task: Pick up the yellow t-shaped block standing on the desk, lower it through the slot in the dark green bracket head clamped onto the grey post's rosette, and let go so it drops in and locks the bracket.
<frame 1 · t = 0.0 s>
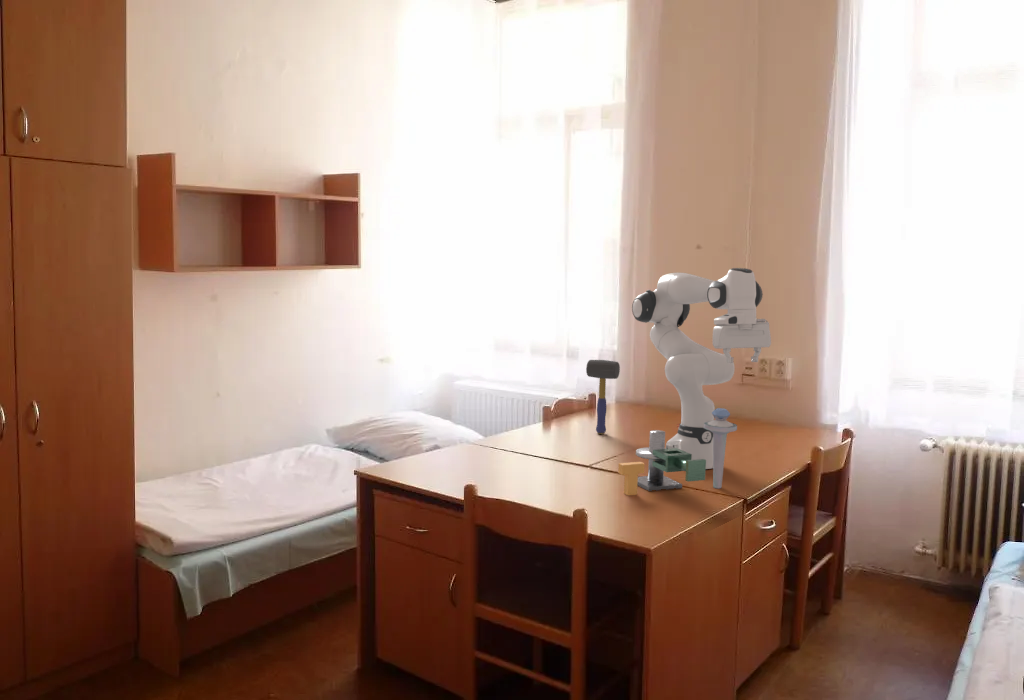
hand: (742, 362, 275), 39 cm above the table, tool pointing down, fingers open, 8 cm apart
novelty light stick: (717, 488, 272), on the table
rubber mallet: (600, 434, 348), on the table
bracket post: (655, 484, 274), on the table
yellow t-shaped block: (630, 494, 263), on the table
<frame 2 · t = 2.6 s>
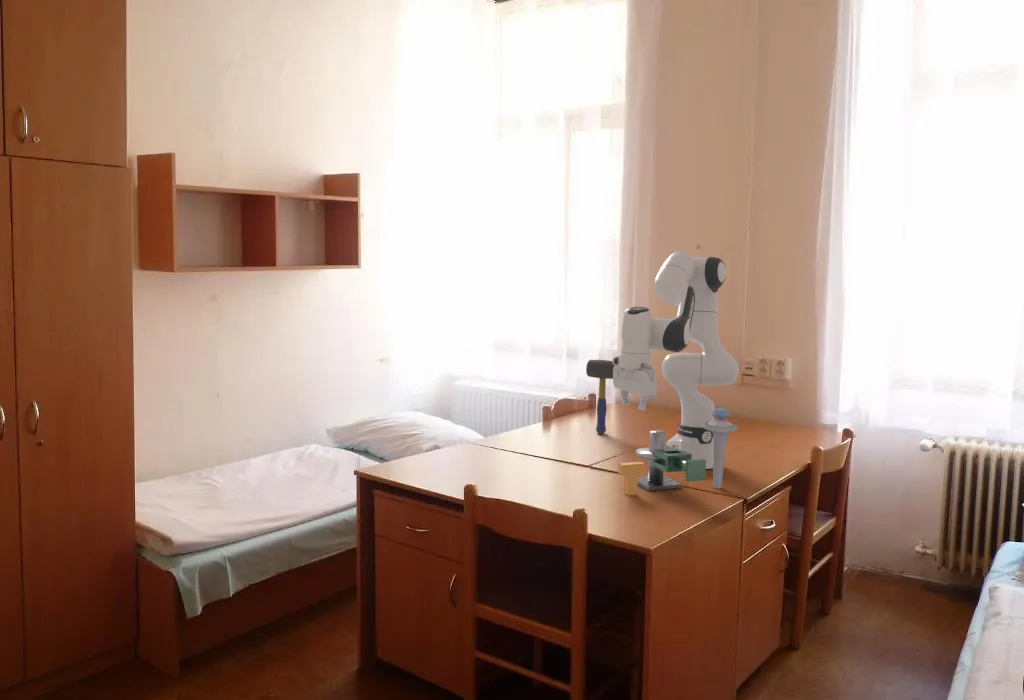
hand: (633, 407, 260), 27 cm above the table, tool pointing down, fingers open, 8 cm apart
nothing on the table moved.
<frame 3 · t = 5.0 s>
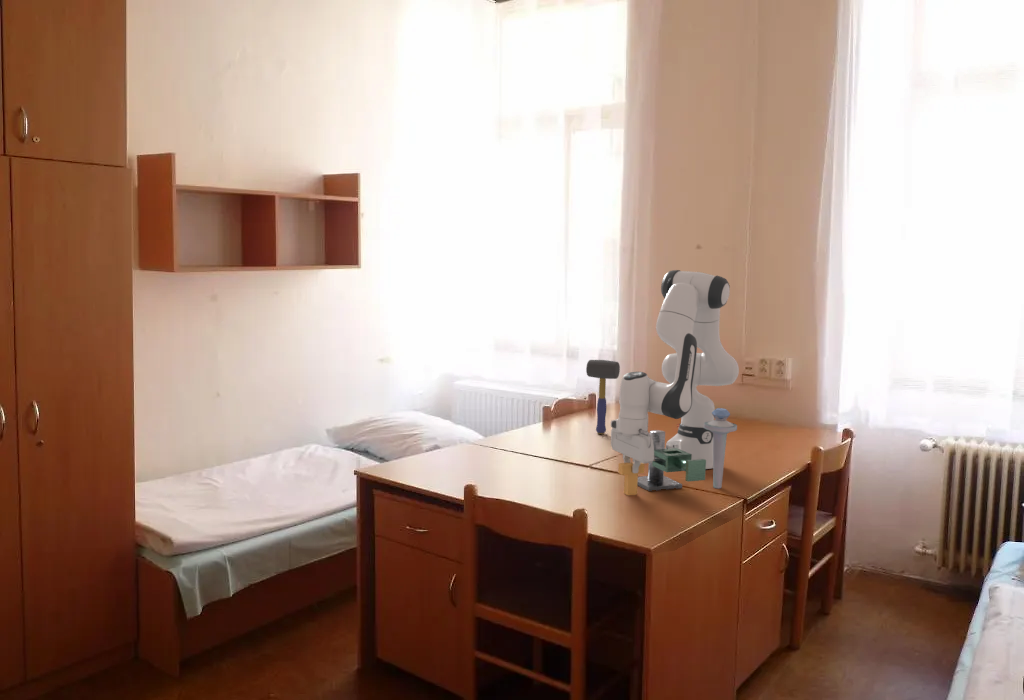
hand: (631, 471, 262), 7 cm above the table, tool pointing down, fingers closed on yellow t-shaped block, 2 cm apart
yellow t-shaped block: (630, 494, 263), on the table, touching gripper
everything else where it was.
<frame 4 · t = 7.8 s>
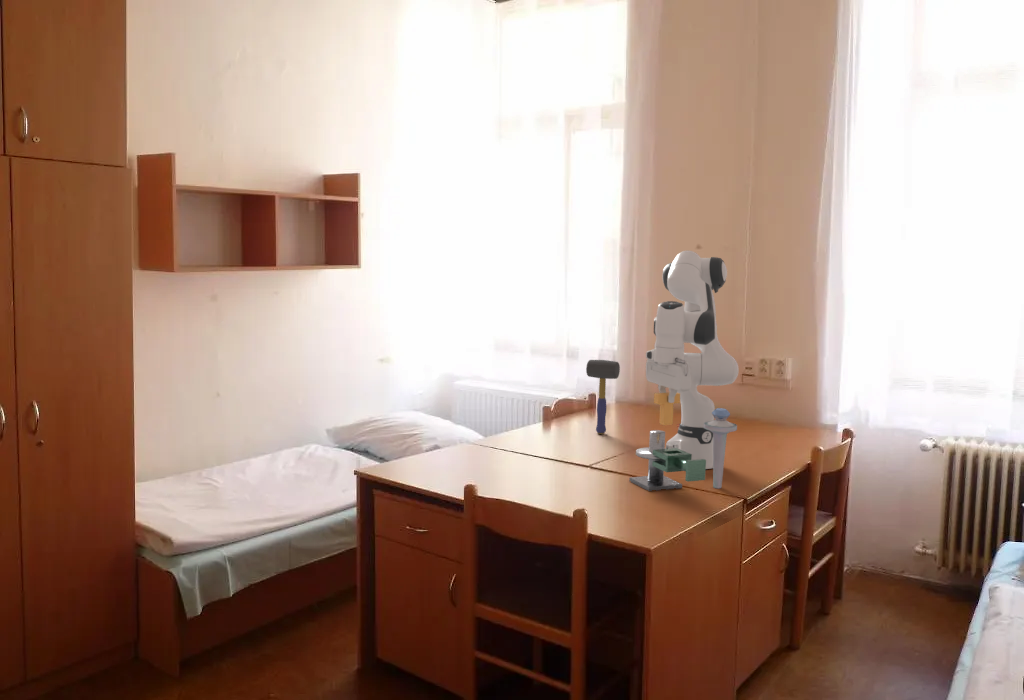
hand: (667, 401, 262), 28 cm above the table, tool pointing down, fingers closed on yellow t-shaped block, 2 cm apart
yellow t-shaped block: (665, 424, 263), point 21 cm above the table, touching gripper
everything else where it was.
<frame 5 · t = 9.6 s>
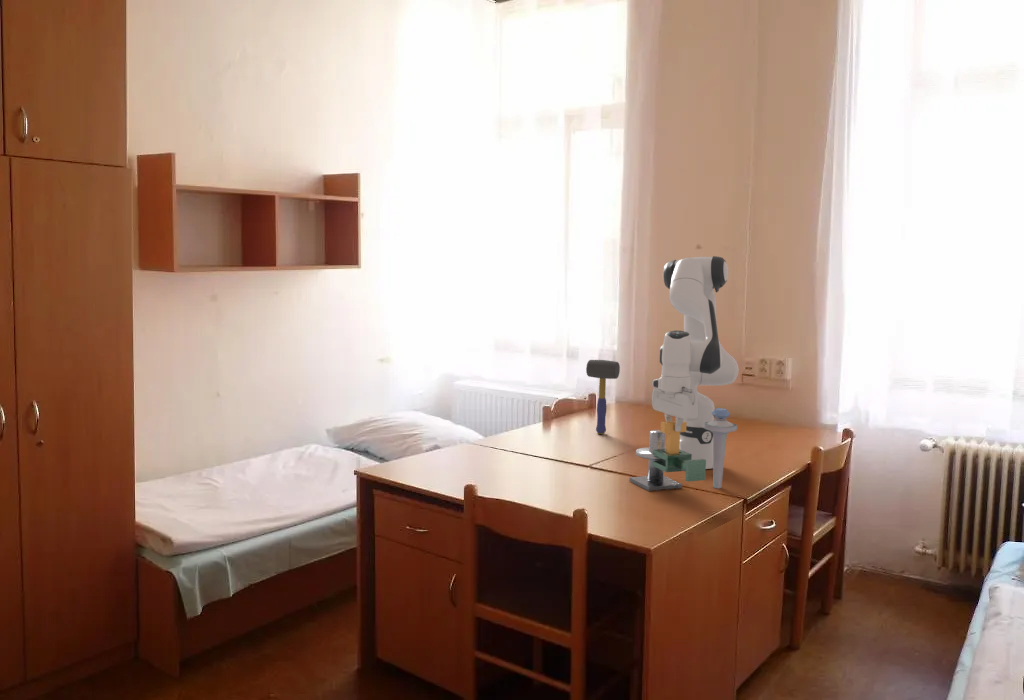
hand: (673, 429, 263), 19 cm above the table, tool pointing down, fingers closed on yellow t-shaped block, 2 cm apart
yellow t-shaped block: (672, 452, 264), point 12 cm above the table, touching gripper
everything else where it was.
when the fingers open (15 cm above the table, at t = 10.8 s): yellow t-shaped block drops 1 cm, resting on bracket post.
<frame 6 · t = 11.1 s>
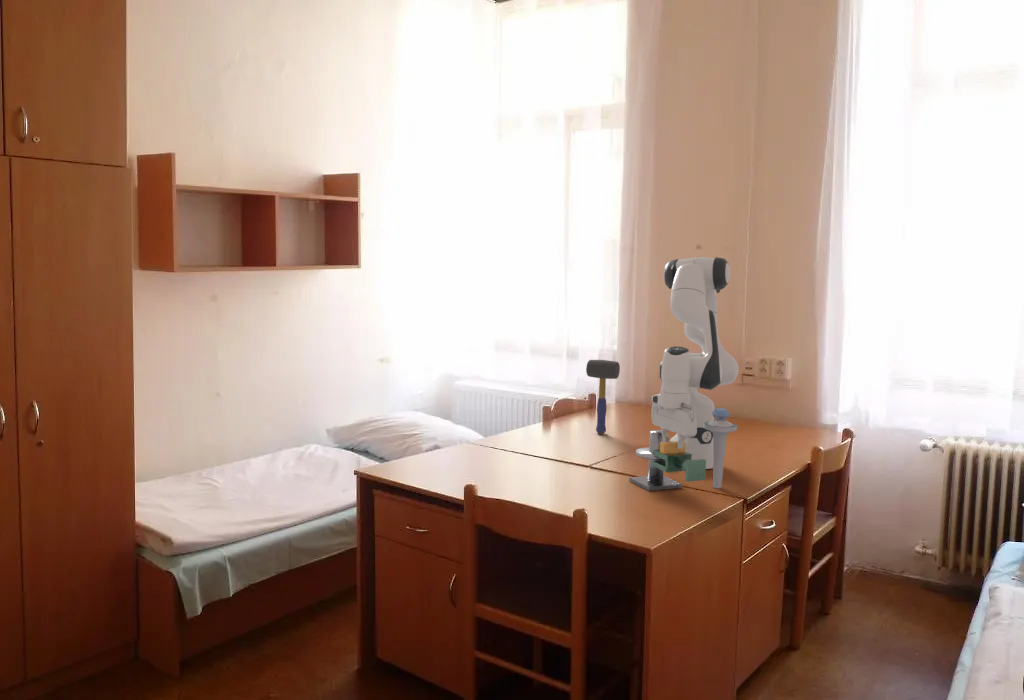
hand: (672, 445, 264), 15 cm above the table, tool pointing down, fingers open, 6 cm apart
yellow t-shaped block: (671, 472, 265), point 6 cm above the table, touching bracket post
everything else where it was.
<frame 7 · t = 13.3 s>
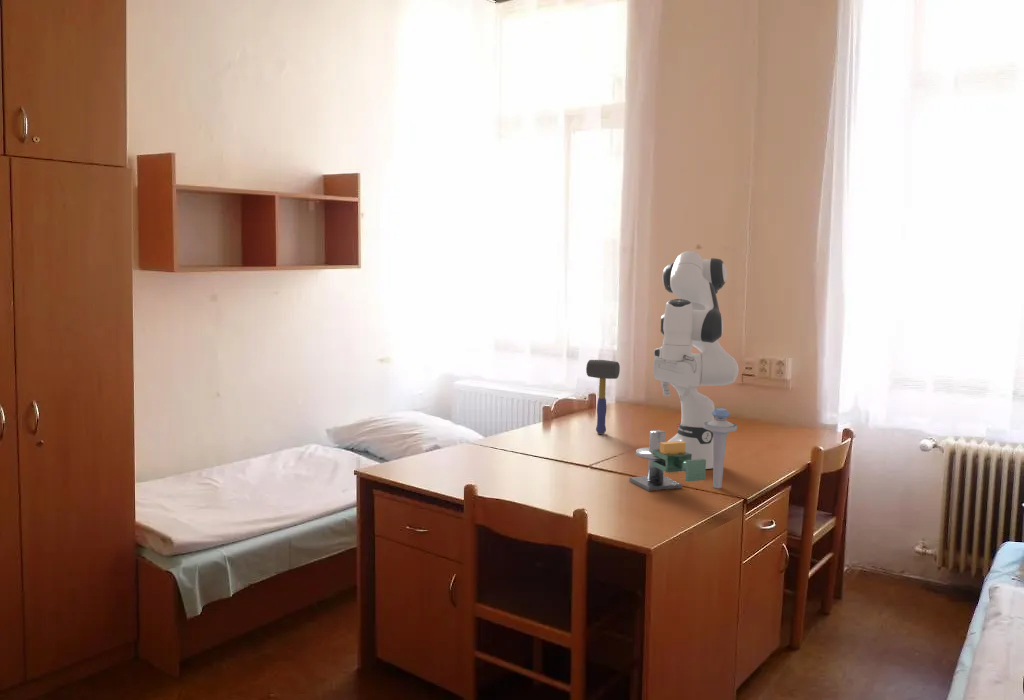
hand: (674, 398, 262), 29 cm above the table, tool pointing down, fingers open, 8 cm apart
nothing on the table moved.
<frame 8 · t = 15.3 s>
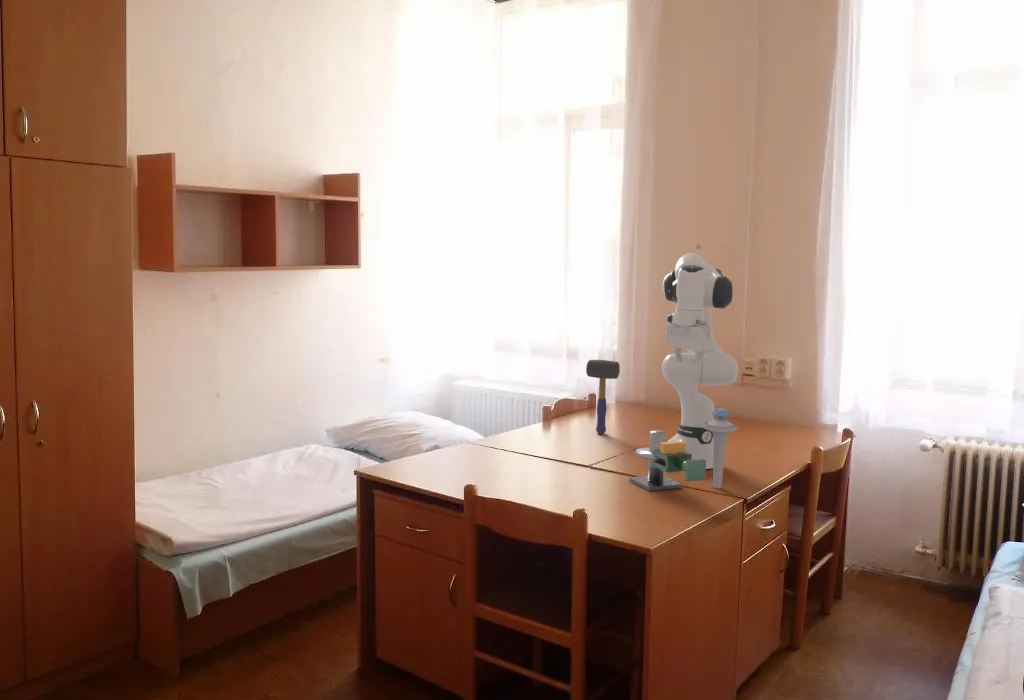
hand: (687, 363, 266), 39 cm above the table, tool pointing down, fingers open, 8 cm apart
nothing on the table moved.
at the end: yellow t-shaped block 0.1 cm from the target spot on the bracket post, point 6.0 cm above the bracket post's base; yellow t-shaped block tilted 0°; the gripper is holding nothing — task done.
